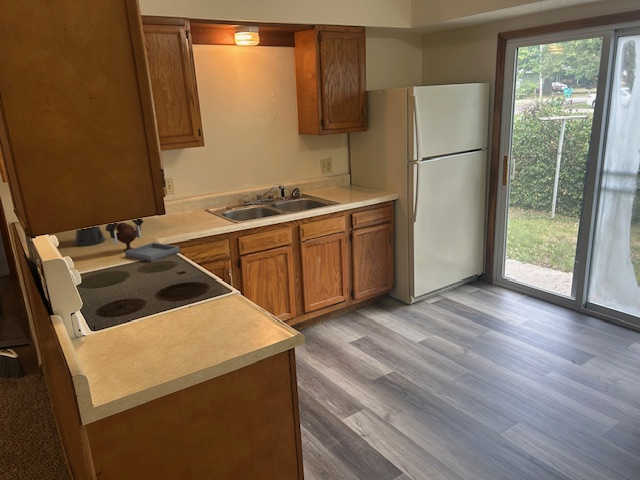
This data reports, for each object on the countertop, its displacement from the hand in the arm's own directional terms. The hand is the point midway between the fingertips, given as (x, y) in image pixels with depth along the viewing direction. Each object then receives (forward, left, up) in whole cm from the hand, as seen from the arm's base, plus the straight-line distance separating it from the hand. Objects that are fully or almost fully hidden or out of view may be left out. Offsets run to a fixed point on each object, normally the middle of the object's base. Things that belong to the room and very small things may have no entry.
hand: (127, 240), depth 245 cm
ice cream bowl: (0, 0, -6) cm, 6 cm away
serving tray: (+17, +8, -5) cm, 19 cm away
